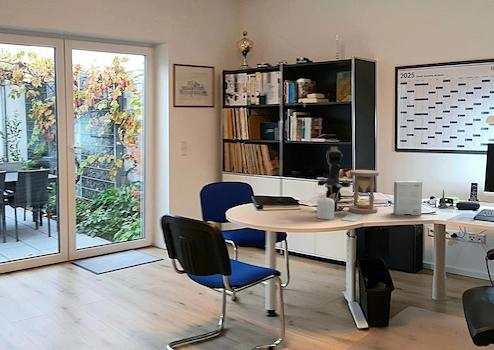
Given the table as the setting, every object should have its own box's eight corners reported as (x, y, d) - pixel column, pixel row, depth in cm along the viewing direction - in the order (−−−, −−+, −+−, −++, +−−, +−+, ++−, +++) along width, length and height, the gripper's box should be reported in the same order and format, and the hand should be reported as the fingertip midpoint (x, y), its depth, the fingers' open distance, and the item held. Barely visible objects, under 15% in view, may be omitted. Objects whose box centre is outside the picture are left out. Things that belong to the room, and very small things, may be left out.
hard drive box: (418, 213, 325) (420, 180, 323) (421, 215, 317) (422, 182, 315) (392, 212, 327) (394, 180, 324) (394, 214, 319) (396, 182, 317)
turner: (331, 197, 325) (331, 193, 324) (340, 198, 322) (340, 193, 322) (323, 201, 311) (323, 196, 311) (333, 202, 309) (333, 197, 308)
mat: (348, 214, 318) (348, 214, 318) (362, 215, 315) (362, 215, 315) (340, 220, 302) (340, 219, 302) (354, 221, 299) (354, 220, 299)
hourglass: (383, 212, 325) (384, 172, 322) (359, 214, 319) (360, 173, 316) (366, 207, 342) (368, 169, 339) (343, 209, 335) (344, 170, 332)
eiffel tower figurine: (436, 210, 337) (437, 189, 336) (428, 207, 347) (429, 187, 346) (457, 209, 340) (458, 189, 338) (449, 206, 350) (450, 186, 348)
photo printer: (335, 219, 305) (335, 198, 303) (332, 220, 301) (332, 199, 300) (319, 217, 310) (319, 196, 309) (315, 218, 307) (316, 197, 305)
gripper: (315, 172, 314) (314, 198, 316) (346, 174, 306) (345, 200, 308) (320, 170, 324) (320, 195, 326) (351, 172, 316) (350, 198, 318)
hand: (333, 197), depth 319 cm, fingers closed on turner, 2 cm apart
